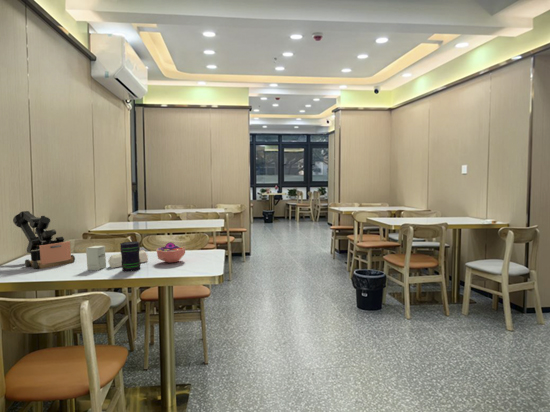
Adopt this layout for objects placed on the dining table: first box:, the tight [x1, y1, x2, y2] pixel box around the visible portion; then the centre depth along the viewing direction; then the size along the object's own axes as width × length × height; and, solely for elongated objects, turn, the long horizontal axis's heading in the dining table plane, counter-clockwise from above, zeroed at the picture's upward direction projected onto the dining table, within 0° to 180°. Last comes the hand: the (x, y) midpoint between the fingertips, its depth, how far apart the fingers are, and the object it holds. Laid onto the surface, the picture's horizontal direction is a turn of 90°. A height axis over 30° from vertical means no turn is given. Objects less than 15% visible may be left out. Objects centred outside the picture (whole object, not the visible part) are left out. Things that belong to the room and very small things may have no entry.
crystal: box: [108, 249, 149, 269], centre depth 246 cm, size 7×7×24 cm
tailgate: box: [39, 240, 72, 264], centre depth 249 cm, size 2×17×11 cm, turn 142°
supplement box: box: [85, 245, 107, 271], centre depth 235 cm, size 7×7×13 cm
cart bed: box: [24, 254, 76, 270], centre depth 255 cm, size 18×23×4 cm
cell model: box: [155, 242, 186, 264], centre depth 246 cm, size 17×20×11 cm
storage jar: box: [119, 241, 142, 273], centre depth 229 cm, size 10×10×15 cm
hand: (52, 253), depth 253 cm, fingers closed
